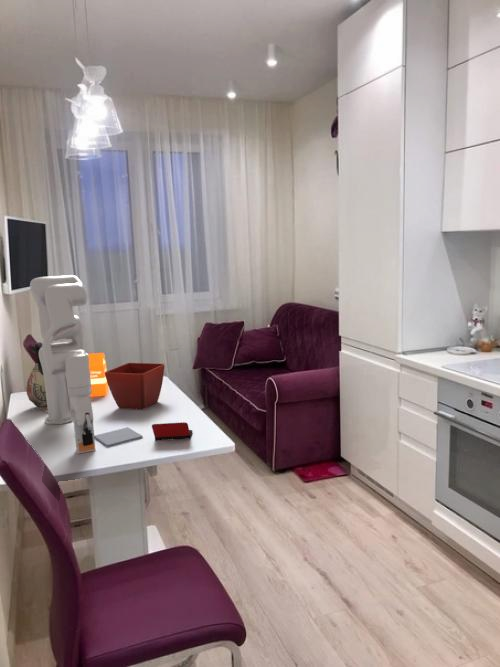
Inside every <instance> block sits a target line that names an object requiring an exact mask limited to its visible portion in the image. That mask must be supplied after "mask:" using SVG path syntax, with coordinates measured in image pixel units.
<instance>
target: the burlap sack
mask: <svg viewBox="0 0 500 667" xmlns="http://www.w3.org/2000/svg"><path fill="white" fill-rule="evenodd" d="M42 344H43V342H39V341H37V342H36V343H35V344H34V345H31V346H30V351H31V352H32V353H34V354H35V364H34V366H33V368H32V370H31V372H30V373H29V374H30V375H29V377H28V380H27V384H26V395H27V398H28V400H29V401H30V402H31V403H32V404H33V405H34V406H35V407H36V408H37V410H48V408H47V399H46V391H45V382H44V375H43V370H42V366H41V362H40V359H39V350H40V348H41V347H42Z"/></svg>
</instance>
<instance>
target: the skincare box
mask: <svg viewBox="0 0 500 667" xmlns="http://www.w3.org/2000/svg"><path fill="white" fill-rule="evenodd" d="M90 420H91V419H90ZM91 422H92V421H91ZM84 425H86V423H84ZM85 428H87V426H86V427H85ZM73 429H74V439H75V448H76V453H77V454H83V453H89V452H95V451H96V449H97V448H96V441H95V440H96V439H95V438H94V436H95V430H94V429H95V428H94V422H93V423H92V437H93V444H91V445H87V446H84V445H83V439H82V434H83V431H82V426H81V427H79V426H77V425H76V419H75V418H74V423H73Z"/></svg>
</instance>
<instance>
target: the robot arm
mask: <svg viewBox="0 0 500 667" xmlns="http://www.w3.org/2000/svg"><path fill="white" fill-rule="evenodd" d="M29 288H30V292H31V295H32V297H33V300H34V301H35V303H36V305H37V308H38V317H39V318H38V320H39V330H40V335H41V338H42V339H43V340H42V347H41V348H40V350H39V359H40V362H41V366H42V370H43V375H44V382H45V391H46V399H47V408H48V409H47V417H45V419H44V423H45V424H47V425H62V424H67V423H71V422H72V423H73V424H74V418H75V419H76V425H77V426H79V427H81V426H82V431H83V434H82V439H83V445H84V446H87V445H91V444H93V437H92V423H93V424H94V412H93V406H92V400H91V397H90V395H91V394H92V389H91V379H90V369H89V356H88V354H89V353H88V352H87V351H86V348H85V336H84V335H85V334H84V326H83V322H82V319H81V318H80V316H78V315H76V314H75V312H74V308H73V307H81V306H84V305H86V304H87V302H88V293H87V292H88V291H87V288H86V287H85V284H84V283H83V282H82V281H81V279H79V277H78V276H76V275H75V274H74V275H73V274H69V275H67V274H66V275H64V274H63V275H52V276H51V275H49V276H39V277H35V278H32V279H31V281H30V283H29ZM65 340H66V341H65ZM67 340H69V341H67ZM70 340H71V341H70ZM55 341H62V342H55ZM53 342H55V343H53ZM90 419H91V420H90ZM91 421H92V422H91ZM84 423H86V425H84ZM86 426H87V428H85V427H86Z"/></svg>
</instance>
